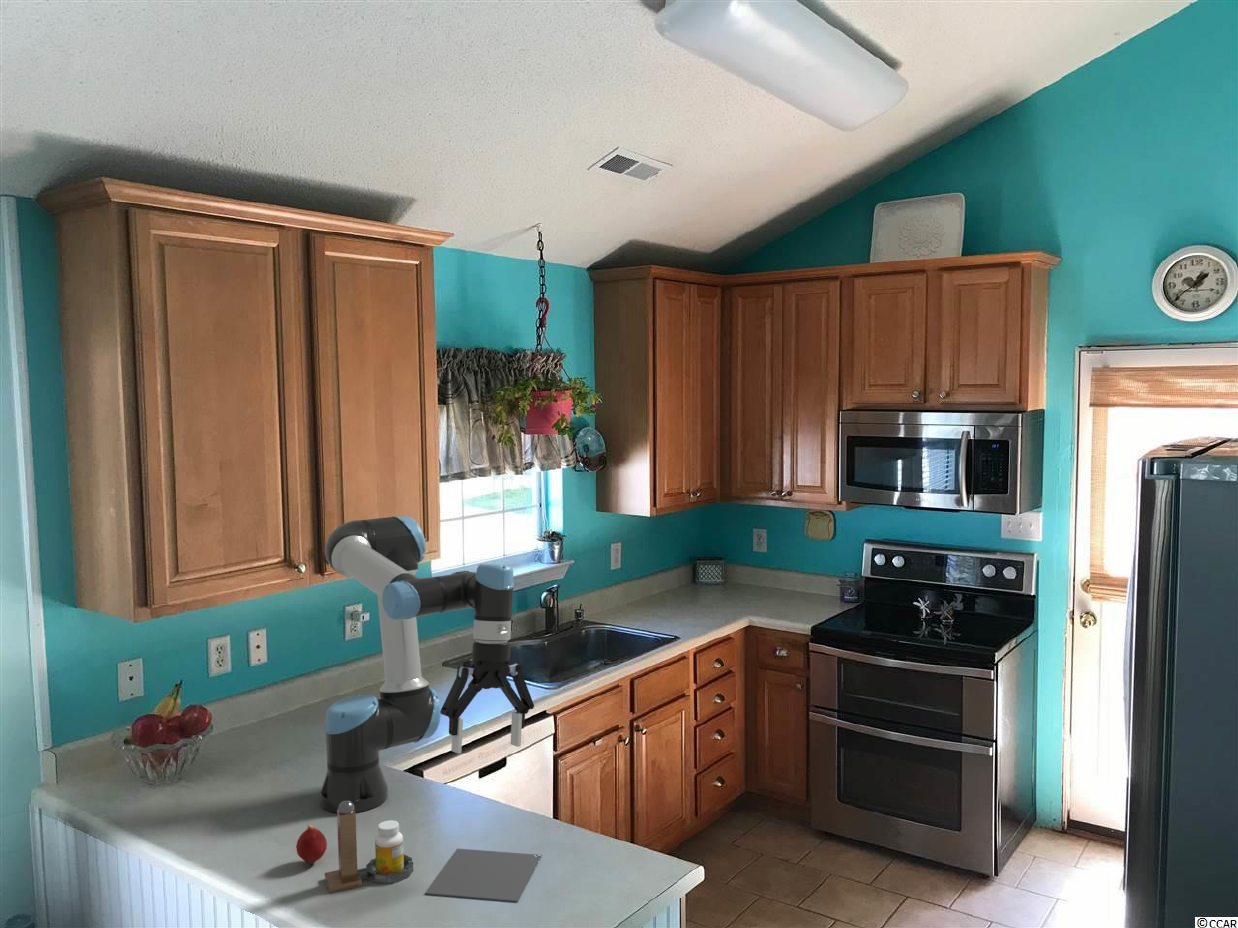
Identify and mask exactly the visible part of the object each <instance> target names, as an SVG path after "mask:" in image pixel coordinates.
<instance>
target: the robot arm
mask: <svg viewBox="0 0 1238 928" xmlns="http://www.w3.org/2000/svg"><path fill="white" fill-rule="evenodd" d="M426 550H427V546H426V539H425V535H424V532H423V530H422V528H421V527H420V525H419V523H418V522H417V521H416V520H415V519H413V518H412V517H410V516H405V515H404V516H389V517H388V516H387V517H377V518H369V519H361V520H360V519H357V520H350V521H348V522H345V523H342V524H341V525H339V526H337V528H335V529H334V530H333V531H332V532H331V533H330V535H329V537H328V538H327V541H326V543H325V547H324V552H325V553H324V554H325V559H326V561H327V563H328V565H329V566H330V567H331V569H332V570H334V571H335V572H336V573H337V574H339V575H341V576H344V577H351V578H353V579H354V580H356V581H357V582H358V583H360V584H361V585H362V586H364V587H366V588H367V589H369V590H370V591H371V592H373V593H374V594H375V595H377V604H378V615H379V617H378V618H379V626H380V628H379V629H380V637H381V648H382V650H381V651H382V658H383V671H384V680H385V681H384V683H383V684H382V685H381V687H380V688H379V698H378V699H377V697H376V696H375V695H372V694H370V693H369V694H368V693H366V694H365V693H364V694H363V693H362V694H356V695H355V694H354V695H349V696H346V697H343V698H340V699H339V700H337V701H335V702H334V703H332V704H331V705H330V706H329V707H328V708H327V711H326V714H325V725H324V729H325V730H324V731H325V739H326V740H325V741H326V774H325V775H324V776H325V777H324V780H323V782H322V783H323V784H322V787H321V790H320V792H319V793H320V795H319V797H320V800H319V801H320V806H321V808H323V809H324V810H326V811H328V812H331V813H336V814H337V809H338V807H339V805H340V803H341V802H343V801H345V800H348V801H351V802H352V803H353V804H354V810H355V812H356V813H360V812H365V811H368V810H371V809H375V808H377V807H379V806H380V805H382V804H383V803H385V802H386V801H387V800H388V797H389V794H388V793H389V791H388V784H387V782H386V779H385V776H384V774H383V773H384V772H383V771H382V768H381V765H380V751H383V750H388V749H391V748H395V747H399V746H402V745H407V744H412V743H419V742H420V741H422V740H425V739H429V738H431V737H432V736H433V735H435V733H436V731H437V730H438V729H439V726H440V722H441V717H442V716H445V717H448V720H449V722H448V734H449V735H450V736H451V745H450V746H451V749H450V751H451V752H452V753H453V752H454V753H455V754H462V750H463V749H462V747H463V746H462V745H463V729H464V728H463V727H464V719H463V718H461V716H462V715H463V713H464V712H465V710H466V709H467V707H468V706H469V705H470V704H471V702H473V700H474V699H475V697H476V696H477V695H478V693H479V692H481V691H482V690H489V689H500V690H501V691H502V693H503V694H504V695H505V697H506V698H507V700H508V701H509V703H510V704H511V705H512V707H513V708H514V710H515V711H512V712H511V724H510V725H511V726H510V745H511V746H515V747H518V748H520V747H521V746H522V743H521V742H522V730H523V729H524V728H525V725H526V714H528V713H529V711H530V710H533V709H534V708H535V704H534V701H533V699H532V697H531V696H532V695H531V694H530V691H529V688H528V685H527V682H526V681H525V678H524V673H523V672H524V671H523V665H522V664H518V663H515V662H514V663H512V664H511V665H509V663H510V662H509V661H510V659H511V658H510V657H511V644H510V642H508V641H509V640H511V634H512V615H513V613H512V612H513V603H514V601H513V599H514V587H515V583H514V569H513V567H512V566H511V565H509V564H496V563H495V564H493V563H490V564H489V563H488V564H487V563H484V564H483V563H481V564H479V565H477V568H476V571H474V572H473V571H469V570H460V571H454V572H452V573H451V574H443V575H437V576H430V577H423V578H420V577H418V576H415V575H416V573H417V572H418V571H419V566H418V565H419V563H421V562H422V561H423V560H424V559H425V558H426V557H425V556H426V552H427V551H426ZM465 609H473V610H474V616H473V617H474V618H473V630H472V631H473V634H472V635H473V636H472V637H473V640H475V641H474V642H473V643H472V651H471V652H472V655H471V658H472V660H471V661H472V665H471V667H466V666H462V665H459V666H458V667H457V670H456V675H455V676H456V678H455V679H454V682H453V683H452V686H451V687H450V690H449V692H448V693H447V696H446V697H445V701H444V702H443V704H442V707H441V700H440V699H439V695H438V693H437V692H436V690H435V689H433V688H431V687H430V684H429V681H427V680H426V679H425V678H424V677H423V676H422V665H421V657H420V646H419V634H418V623H417V618H419V617H425V616H430V615H435V614H443V613H447V612H454V611H459V610H460V611H461V610H465ZM509 674H510V675H511V678H512V680H513V683H514V685H515V688H516V691H517V693H516V691H515V690H514V688H513V687H512V684H511V683H510V682H509V680H508V678H507V677H508V676H509ZM471 676H472V678H471V680H470V681H469V683H468V685H467V688H466V689H465V687H466V684H467V682H468V679H469V678H470V677H471ZM464 689H465V690H464ZM441 715H442V716H441Z"/></svg>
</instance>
